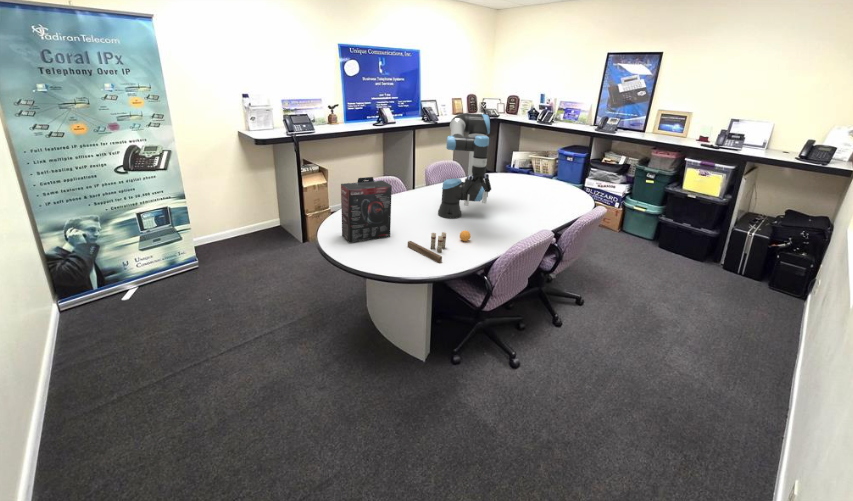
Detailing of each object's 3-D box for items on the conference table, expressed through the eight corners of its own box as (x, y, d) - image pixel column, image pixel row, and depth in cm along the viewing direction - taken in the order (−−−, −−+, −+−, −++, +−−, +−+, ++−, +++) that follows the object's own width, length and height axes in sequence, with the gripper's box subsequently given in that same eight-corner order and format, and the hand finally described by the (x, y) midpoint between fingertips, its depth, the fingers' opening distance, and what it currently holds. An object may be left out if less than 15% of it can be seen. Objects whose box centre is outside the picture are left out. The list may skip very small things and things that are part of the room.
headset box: (382, 229, 239) (382, 173, 226) (391, 237, 230) (392, 178, 216) (341, 235, 227) (339, 176, 214) (349, 244, 218) (347, 182, 204)
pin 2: (439, 250, 216) (440, 235, 213) (442, 252, 215) (443, 236, 211) (435, 251, 215) (436, 236, 211) (439, 253, 213) (440, 238, 210)
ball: (464, 237, 234) (465, 228, 232) (472, 241, 230) (473, 231, 228) (457, 240, 230) (458, 230, 228) (464, 243, 226) (465, 233, 224)
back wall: (410, 245, 220) (410, 240, 219) (441, 261, 204) (442, 256, 203) (407, 246, 219) (407, 241, 217) (438, 263, 203) (439, 257, 201)
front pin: (442, 246, 221) (444, 231, 218) (446, 248, 220) (447, 233, 216) (439, 247, 220) (440, 232, 216) (442, 249, 218) (443, 234, 215)
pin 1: (432, 247, 220) (433, 232, 216) (436, 248, 218) (437, 233, 215) (429, 248, 218) (430, 233, 215) (432, 249, 217) (433, 234, 213)
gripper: (466, 168, 210) (463, 208, 218) (500, 165, 225) (496, 203, 233) (457, 166, 216) (453, 205, 224) (490, 163, 230) (486, 200, 238)
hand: (475, 204), depth 228 cm, fingers open, 13 cm apart
